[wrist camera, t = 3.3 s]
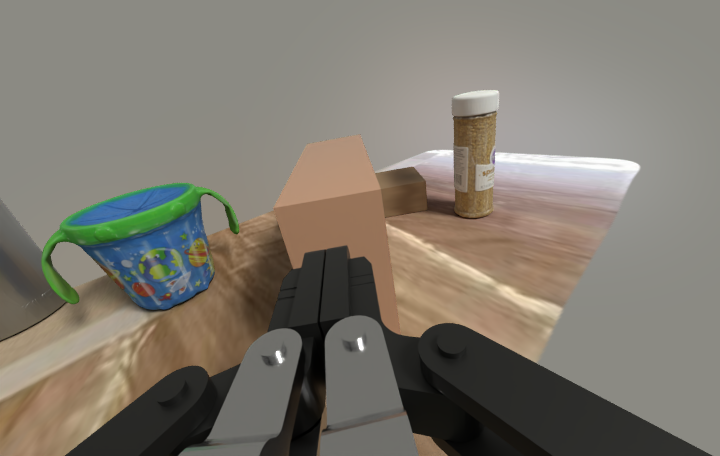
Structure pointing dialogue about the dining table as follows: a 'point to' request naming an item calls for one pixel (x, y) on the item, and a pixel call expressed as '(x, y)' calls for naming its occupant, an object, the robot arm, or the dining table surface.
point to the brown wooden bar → (402, 191)
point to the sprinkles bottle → (474, 151)
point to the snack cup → (143, 244)
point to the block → (339, 212)
